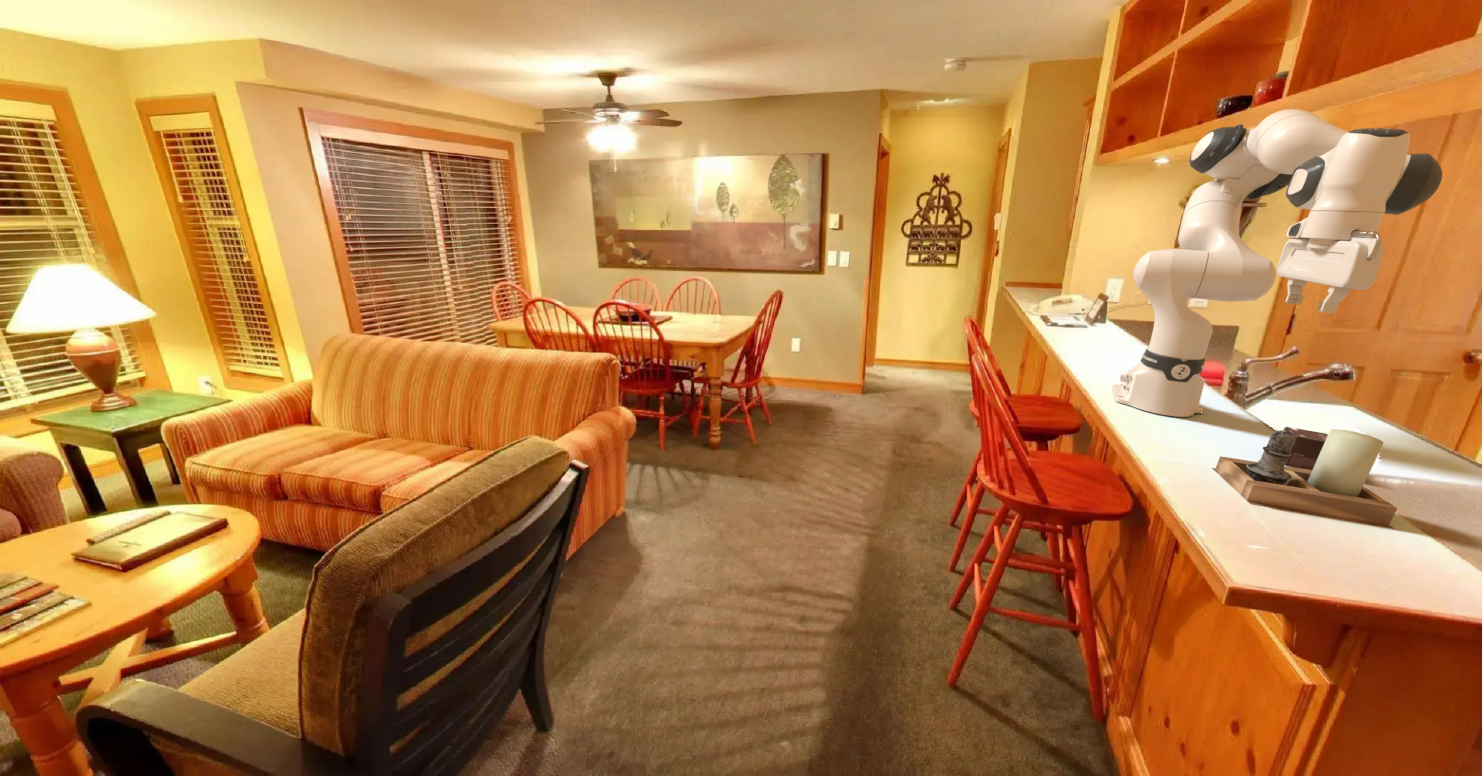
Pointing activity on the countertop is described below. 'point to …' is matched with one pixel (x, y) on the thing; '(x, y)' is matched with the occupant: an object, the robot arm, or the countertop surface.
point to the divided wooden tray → (1305, 495)
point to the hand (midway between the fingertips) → (1308, 308)
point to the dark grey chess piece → (1273, 459)
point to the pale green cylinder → (1345, 462)
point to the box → (1305, 448)
